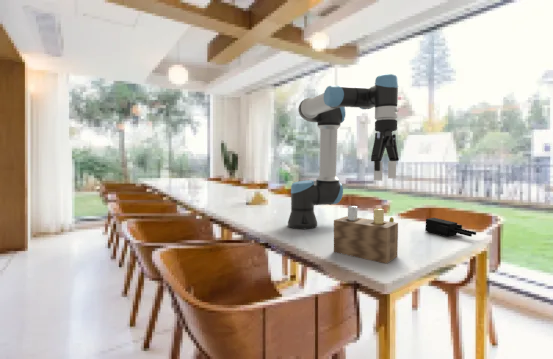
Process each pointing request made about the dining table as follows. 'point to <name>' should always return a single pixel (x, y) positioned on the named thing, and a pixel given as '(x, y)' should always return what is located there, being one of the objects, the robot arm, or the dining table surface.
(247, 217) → the dining table surface
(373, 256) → the socket block
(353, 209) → the peg
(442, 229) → the black pronged block
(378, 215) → the peg
